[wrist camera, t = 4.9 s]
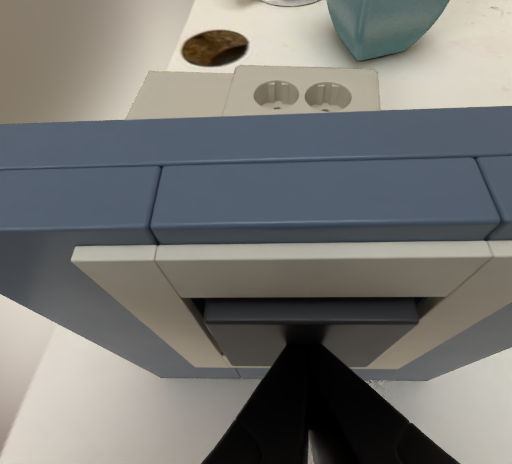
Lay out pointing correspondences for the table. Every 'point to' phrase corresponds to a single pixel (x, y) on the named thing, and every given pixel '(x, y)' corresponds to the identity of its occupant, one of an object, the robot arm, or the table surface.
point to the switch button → (308, 326)
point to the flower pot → (382, 24)
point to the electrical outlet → (256, 92)
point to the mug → (289, 2)
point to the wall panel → (262, 228)
